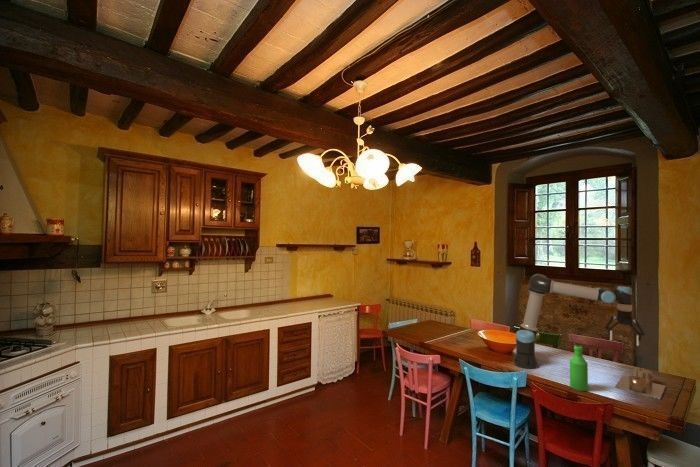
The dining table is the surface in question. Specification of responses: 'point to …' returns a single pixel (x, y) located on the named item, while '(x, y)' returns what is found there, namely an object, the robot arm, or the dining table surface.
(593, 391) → the dining table surface
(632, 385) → the carrier
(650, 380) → the planet gear
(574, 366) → the bottle
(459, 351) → the dining table surface
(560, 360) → the dining table surface
